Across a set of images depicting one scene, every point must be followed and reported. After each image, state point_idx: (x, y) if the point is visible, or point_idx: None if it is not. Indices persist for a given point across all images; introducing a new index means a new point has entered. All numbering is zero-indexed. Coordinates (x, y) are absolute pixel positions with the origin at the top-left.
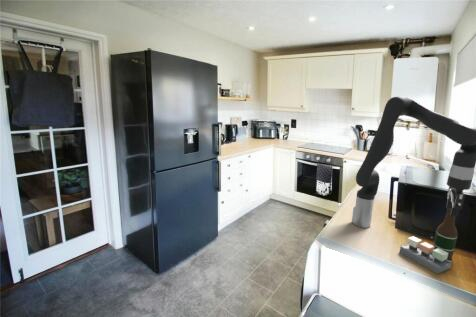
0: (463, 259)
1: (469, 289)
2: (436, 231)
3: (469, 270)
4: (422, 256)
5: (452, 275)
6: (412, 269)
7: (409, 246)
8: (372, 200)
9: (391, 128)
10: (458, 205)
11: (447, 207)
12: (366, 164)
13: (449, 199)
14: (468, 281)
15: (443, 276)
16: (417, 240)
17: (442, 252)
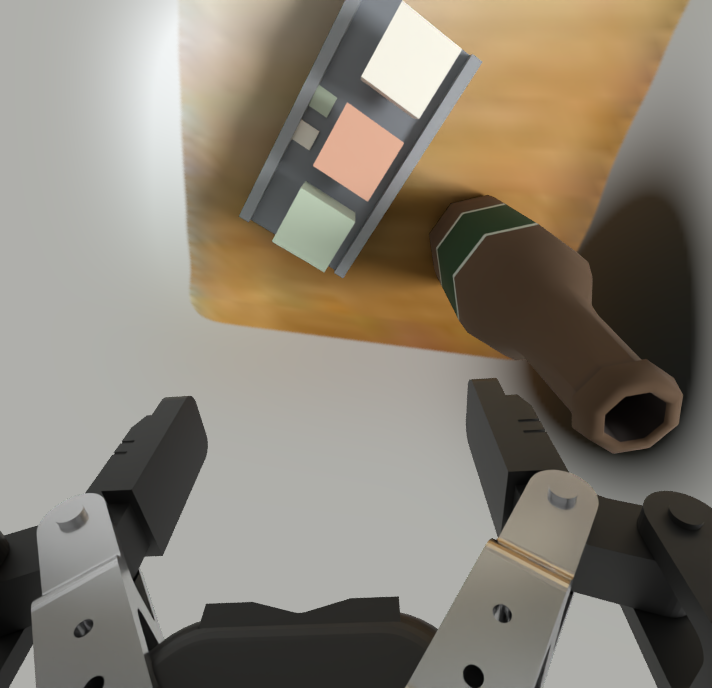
0: None
1: (209, 316)
2: (531, 225)
3: (377, 337)
4: (314, 129)
5: (280, 268)
6: (191, 74)
7: None
8: None
9: None
10: (141, 592)
11: (472, 391)
12: None
13: (519, 503)
14: (274, 321)
15: (240, 229)
16: (396, 83)
17: (307, 241)
